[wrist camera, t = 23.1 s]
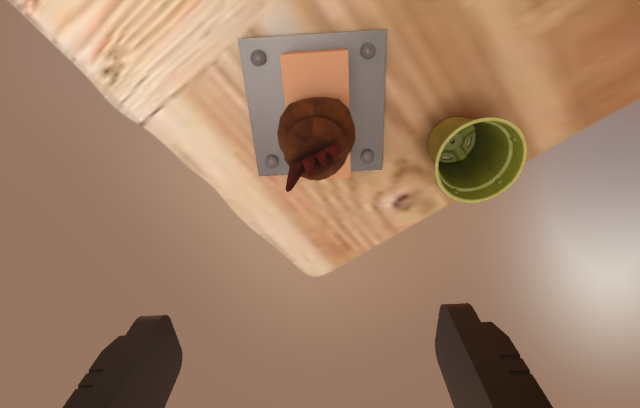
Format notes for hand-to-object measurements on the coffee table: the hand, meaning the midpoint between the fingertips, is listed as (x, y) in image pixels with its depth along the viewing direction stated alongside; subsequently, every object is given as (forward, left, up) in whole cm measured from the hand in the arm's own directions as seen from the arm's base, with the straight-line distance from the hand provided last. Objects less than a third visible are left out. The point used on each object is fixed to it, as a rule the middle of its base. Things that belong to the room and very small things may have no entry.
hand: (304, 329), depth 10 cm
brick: (0, 0, -33) cm, 33 cm away
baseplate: (0, 0, -34) cm, 34 cm away
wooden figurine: (0, 0, -27) cm, 27 cm away
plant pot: (-17, +5, -34) cm, 39 cm away
